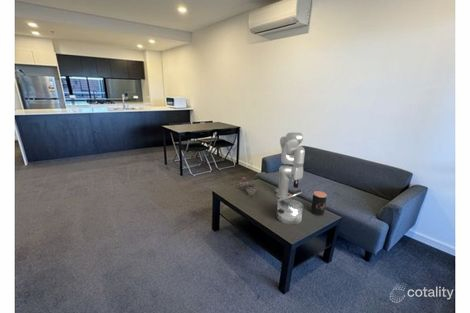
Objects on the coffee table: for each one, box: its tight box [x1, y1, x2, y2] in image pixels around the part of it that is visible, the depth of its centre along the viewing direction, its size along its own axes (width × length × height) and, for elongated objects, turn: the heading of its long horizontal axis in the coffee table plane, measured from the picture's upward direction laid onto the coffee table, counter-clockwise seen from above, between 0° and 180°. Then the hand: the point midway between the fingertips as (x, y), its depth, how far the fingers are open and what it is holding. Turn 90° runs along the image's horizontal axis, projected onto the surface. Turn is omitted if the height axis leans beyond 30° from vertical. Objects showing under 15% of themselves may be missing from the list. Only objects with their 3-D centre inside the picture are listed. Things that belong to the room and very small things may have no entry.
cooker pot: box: [276, 198, 304, 226], centre depth 181 cm, size 21×26×12 cm
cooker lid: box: [276, 189, 303, 202], centre depth 179 cm, size 21×21×3 cm
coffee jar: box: [310, 190, 328, 216], centre depth 189 cm, size 11×11×18 cm
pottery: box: [238, 176, 258, 196], centre depth 228 cm, size 11×25×12 cm, turn 31°
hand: (295, 187), depth 172 cm, fingers closed
